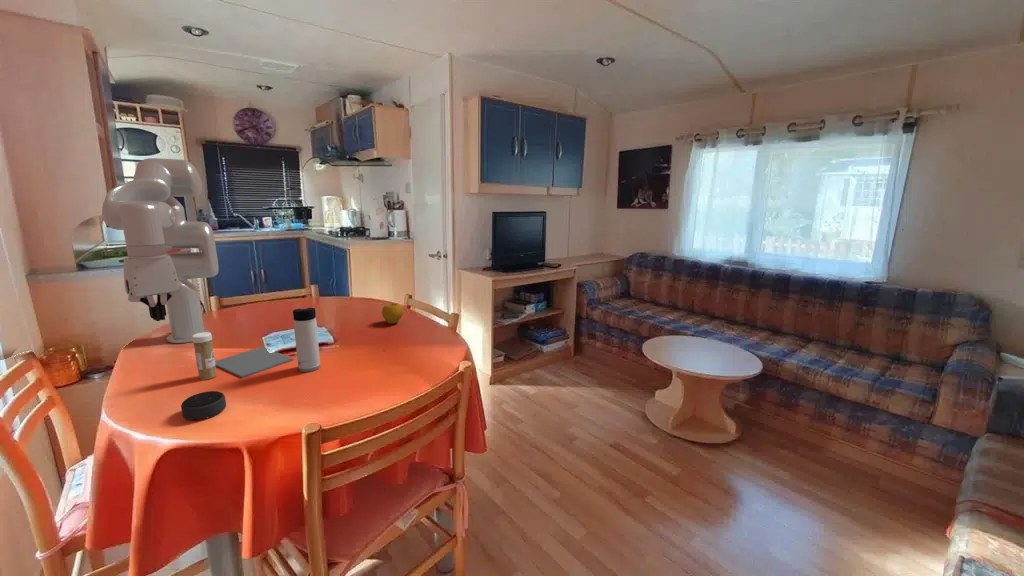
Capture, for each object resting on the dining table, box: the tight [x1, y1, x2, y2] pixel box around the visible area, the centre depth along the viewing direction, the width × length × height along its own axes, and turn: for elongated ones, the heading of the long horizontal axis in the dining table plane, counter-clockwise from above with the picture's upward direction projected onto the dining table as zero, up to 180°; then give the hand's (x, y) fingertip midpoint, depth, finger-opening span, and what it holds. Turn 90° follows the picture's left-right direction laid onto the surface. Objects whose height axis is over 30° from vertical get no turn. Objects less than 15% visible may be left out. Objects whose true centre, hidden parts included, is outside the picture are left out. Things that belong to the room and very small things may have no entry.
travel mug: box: [292, 307, 321, 373], centre depth 128 cm, size 6×7×20 cm
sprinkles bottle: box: [192, 331, 218, 381], centre depth 121 cm, size 5×5×13 cm
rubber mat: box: [215, 346, 294, 379], centre depth 133 cm, size 18×16×1 cm
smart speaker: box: [180, 390, 227, 421], centre depth 103 cm, size 9×9×4 cm
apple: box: [381, 302, 404, 325], centre depth 174 cm, size 9×9×9 cm
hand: (159, 319), depth 110 cm, fingers closed
